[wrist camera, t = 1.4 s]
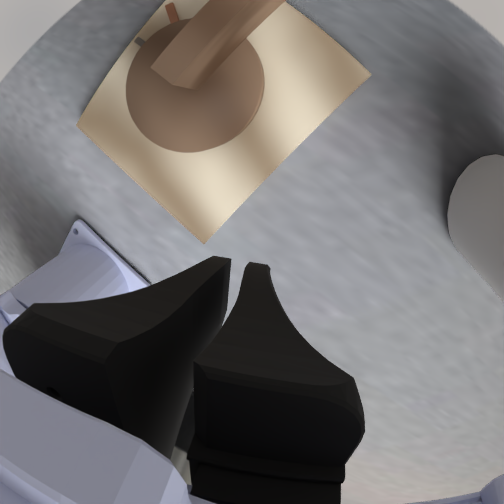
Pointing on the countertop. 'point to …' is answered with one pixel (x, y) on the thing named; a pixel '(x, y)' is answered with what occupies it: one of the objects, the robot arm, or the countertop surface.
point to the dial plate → (249, 140)
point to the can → (480, 219)
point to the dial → (199, 77)
